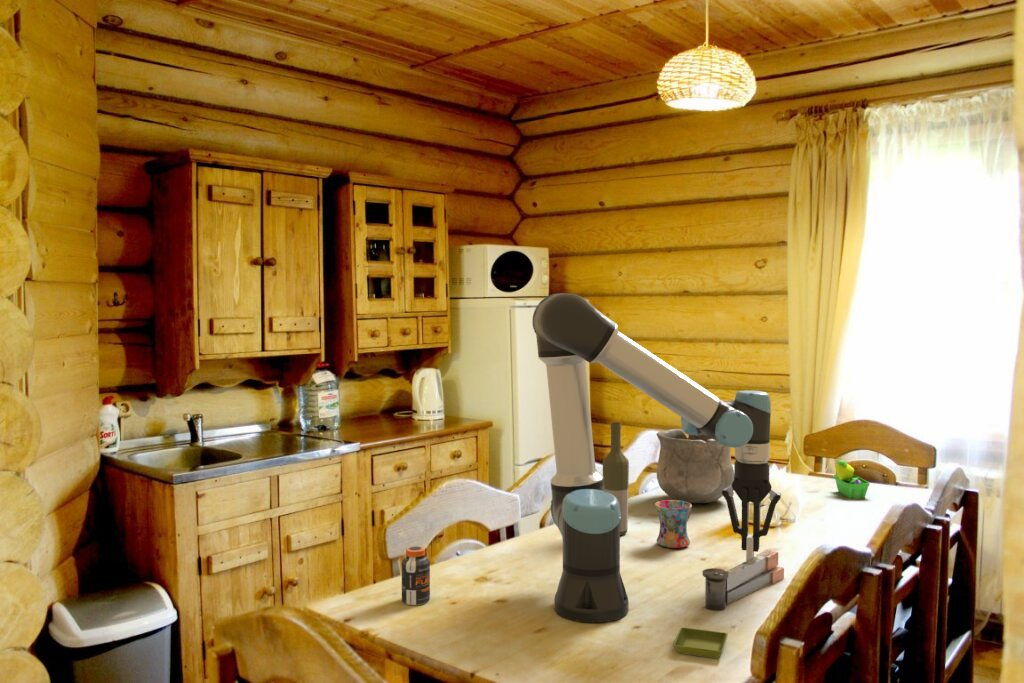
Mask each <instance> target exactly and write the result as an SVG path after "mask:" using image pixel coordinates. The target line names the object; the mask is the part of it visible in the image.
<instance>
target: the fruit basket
mask: <svg viewBox="0 0 1024 683" xmlns="http://www.w3.org/2000/svg"><path fill="white" fill-rule="evenodd" d="M835 471H836V475H833V478H834V480H835V484H836V489H837V492H838V493H840V494H841V495H843V496H844V497H846V498H847V499H865V498H866V495H867V491H868V489H869V486H870V482H869V481H867V480H865V479H863V478H861V477H860V476H858V475H854V473H855V469H854V467H852V466H851V465H850V464H848V463H847V462H846V461H845V460H842V459H841V460H837V461H836V463H835Z"/></svg>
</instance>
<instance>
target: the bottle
mask: <svg viewBox="0 0 1024 683" xmlns="http://www.w3.org/2000/svg"><path fill="white" fill-rule="evenodd" d="M621 424H622V423H621V422H610V451H609V452H608V454H607V455H606V456H605V457H604V458H603V459H602V475H603V479H604V489H605V493H606V492H608V493H610V494H612V495H613V496H615V497H616V498H617V500H618V502H619V507H620V512H621V519H620V536H623V535H626V534H627V533H628V525H629V524H628V522H629V521H628V520H629V517H628V516H629V485H630V484H629V480H630V478H629V476H630V475H629V472H630V462H629V459H628V458H627V457H626V456H625V455H624V453H623V452H622V449H621V443H622V442H621V440H622V439H621V435H622V434H621V430H622V425H621Z"/></svg>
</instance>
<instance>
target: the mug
mask: <svg viewBox="0 0 1024 683" xmlns="http://www.w3.org/2000/svg"><path fill="white" fill-rule="evenodd" d="M654 506H655V508H656V512H657V514H658V517H659V518H658V519H659V533H658V536H657V539H656V543H657V544H658V545H660V546H662V547H664V548H668V549H680V548H681V549H682V548H684V547H687V546H689V545H690V544H691V540H690V539H689V536H688V530H687V525H688V521H689V519H690V516H691V513H692V507H693V505H692V503H688V502H685V501H679V500H676V499H664V500H658V501H656V502H655V503H654Z"/></svg>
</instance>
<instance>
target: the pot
mask: <svg viewBox="0 0 1024 683" xmlns="http://www.w3.org/2000/svg"><path fill="white" fill-rule="evenodd" d="M687 435H688V434H686V433H685V432H684V431H683V429H682V428H671V429H665V430H662V431H658V432H657V433H656V435H655V436H657V439H658V440H659V445H660V447H659V453H658V460H657V468H656V479H657V483H658V486H659V487H660V489H661V490H662V491H663V492H664V493H665V494H666V495H667V496H669V497H670V498H672V499H673V500H679V501H685V502H688V503H690V504H708V503H712V502H716V501H718V500H719V499H721V498H722V497H724V496H723V495H722V491H723V489H724V488H728V487H730V486H732V482H733V481H734V467H733V466H734V465H733V464H732V454H731V453H732V451H731V450H732V449H731V448H732V447H727V446H724V445H722V444H721V443H720V442H718V441H716V440H714V439H712V438H710V437H708V436H706V435H698V436H696V435H688V436H687Z"/></svg>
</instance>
